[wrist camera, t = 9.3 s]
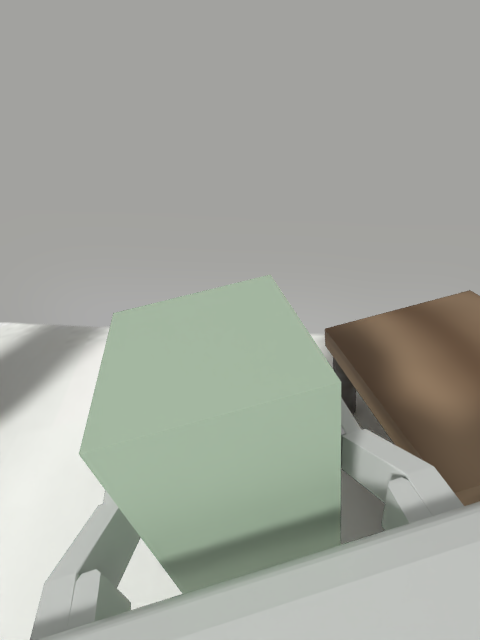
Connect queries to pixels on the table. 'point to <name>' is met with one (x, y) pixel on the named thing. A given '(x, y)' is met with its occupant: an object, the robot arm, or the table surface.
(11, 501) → the table surface
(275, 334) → the green block
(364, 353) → the peg shelf
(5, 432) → the table surface
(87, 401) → the table surface
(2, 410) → the table surface
